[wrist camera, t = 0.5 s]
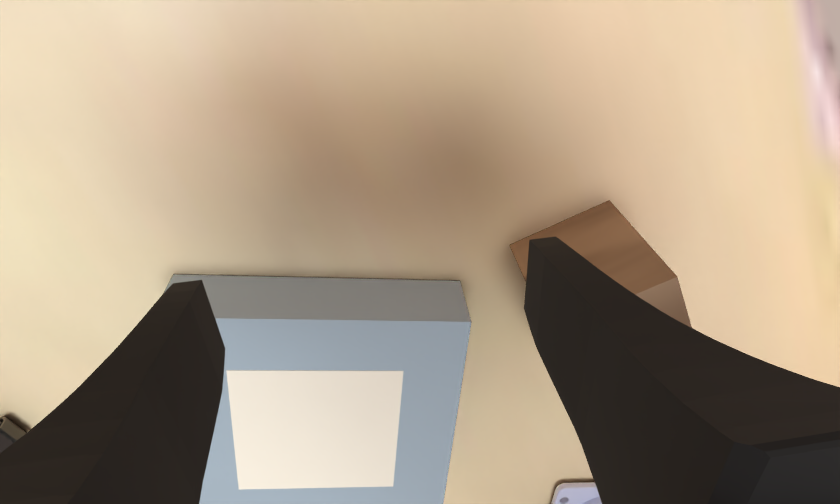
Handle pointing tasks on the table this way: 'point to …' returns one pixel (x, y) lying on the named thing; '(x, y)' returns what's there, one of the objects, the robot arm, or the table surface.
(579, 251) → the walnut block
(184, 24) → the table surface
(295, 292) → the slate plinth
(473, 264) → the table surface
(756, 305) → the table surface
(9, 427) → the coffee press
